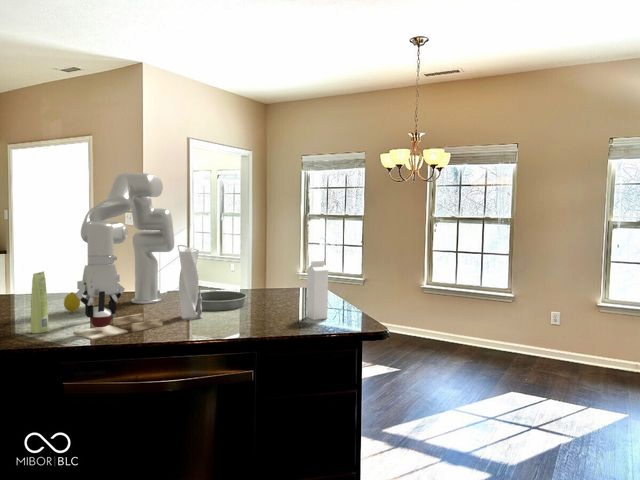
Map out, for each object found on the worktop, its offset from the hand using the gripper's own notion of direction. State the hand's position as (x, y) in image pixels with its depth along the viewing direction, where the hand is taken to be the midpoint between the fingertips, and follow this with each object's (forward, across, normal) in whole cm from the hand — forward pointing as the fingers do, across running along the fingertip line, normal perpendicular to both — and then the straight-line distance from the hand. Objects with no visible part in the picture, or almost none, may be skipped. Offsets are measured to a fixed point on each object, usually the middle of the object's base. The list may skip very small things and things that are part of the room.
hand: (101, 314), depth 149 cm
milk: (+6, -65, +39) cm, 76 cm away
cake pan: (+7, -56, -8) cm, 57 cm away
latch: (+6, -6, -14) cm, 16 cm away
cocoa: (+4, 0, 0) cm, 4 cm away
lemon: (+6, -8, -38) cm, 39 cm away
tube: (+6, +12, -16) cm, 21 cm away
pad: (+6, 0, 0) cm, 6 cm away
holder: (+6, -13, 0) cm, 14 cm away
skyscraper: (+6, -33, +2) cm, 34 cm away
